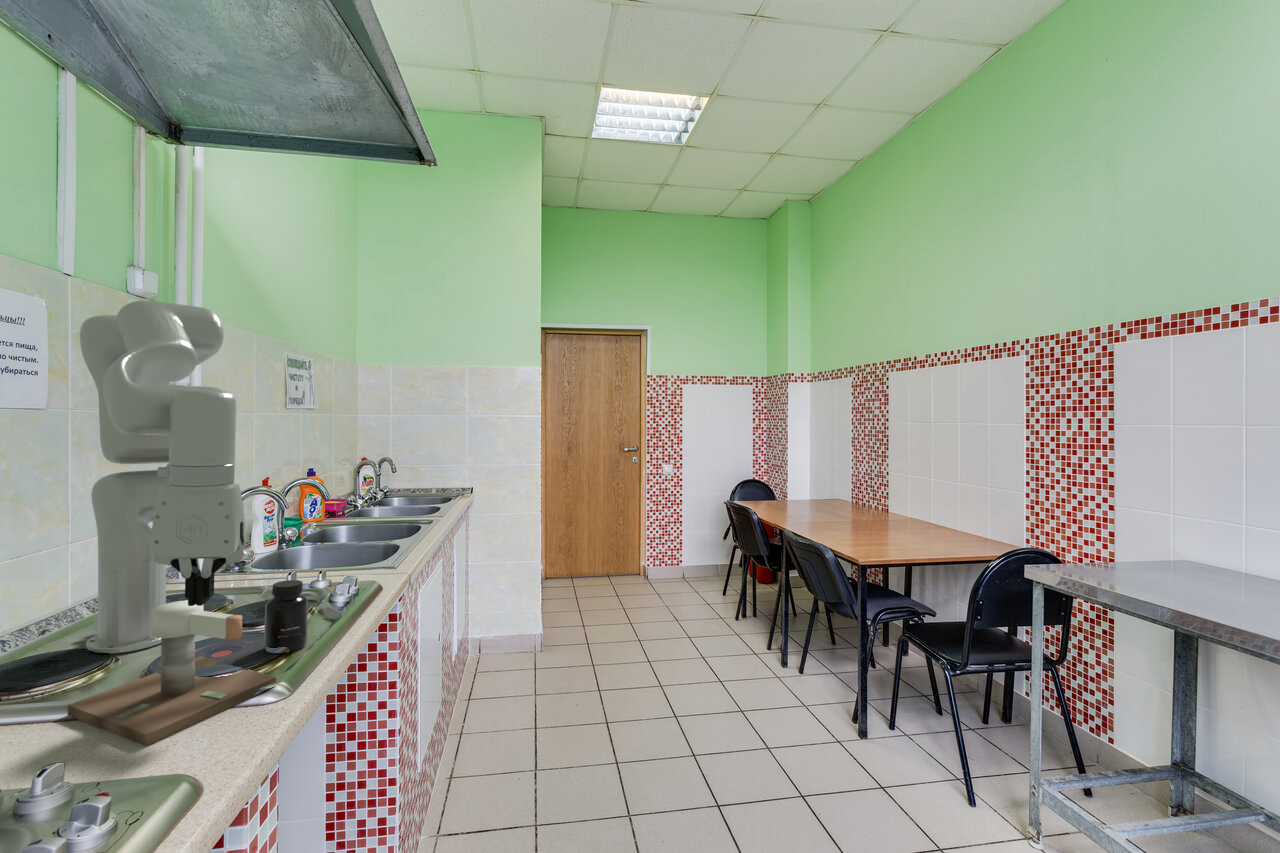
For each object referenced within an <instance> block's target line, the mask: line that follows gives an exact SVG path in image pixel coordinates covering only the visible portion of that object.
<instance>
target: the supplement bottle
mask: <svg viewBox="0 0 1280 853" xmlns="http://www.w3.org/2000/svg"><path fill="white" fill-rule="evenodd" d="M303 585H304V584H303V581H302V580H299V579H298V580H297V579H287V580H281V581H277V582H275V583H273V584H272V589H271V590H272V591H271V596H272V597H271V598H270V599H269V600H268V601H267V602H266V604H265V607H264V609H265V610H264V630H263V631H264V632H263V634H264V635H263V637H264V639H263V647H264V646H265V647H269V648H278V647H287V648H288V649H289V651H290V653H293V652H296V651H299V650H301V649H302V648H304V647H305V646H306V644H307V642H308V641H307V640H308V637H307V636H308V618H309V616H308V615H309V614H308V612H309V600H308V598H307V596H305V595H304V594H302V593H303V592H304V588H303Z"/></svg>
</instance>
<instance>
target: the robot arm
mask: <svg viewBox="0 0 1280 853" xmlns="http://www.w3.org/2000/svg"><path fill="white" fill-rule="evenodd" d="M224 337H225V332H224V326H223V323H222V321H221V319H220V318H219V316H218V315H217V314H216V313H215V312H214V311H212V310H211V309H209V308H206V307H202V306H195V305H188V304H179V303H173V302H164V301H157V300H156V301H155V300H137V301H133V302H128V303H127V304H125V305H123V306H122V307H121V308H120V309H119V310H118V313H117V314H116V315H115V314H113V315H112V314H110V315H107V314H106V315H105V314H104V315H94V316H91V317H89V318H87V319H85V320H84V321H83V322H82V324H81V326H80V330H79V344H80V350H81V355H82V357H83V360H84V362H85V365H86V368H87V369H88V371H89V373H90V376H91V377H92V380H93V381H94V384H95V387H96V390H97V394H98V396H97V397H98V415H99V416H98V417H99V418H98V419H99V438H100V439H99V440H100V447H101V452H102V454H103V457H104V458H105V460H107V462H110V463H113V464H119V465H143V464H166V466H162V467H161V466H159V467H158V468H157V469H154V470H153V469H150V470H134V471H133V470H132V471H131V470H130V471H122V472H115V473H111V474H108V475H105V476H102V477H101V478H99V479H98V480H97V481H96V482H95V483H94V484H93V486H92V489H91V504H92V509H93V514H94V519H95V523H96V532H97V550H98V551H97V552H98V553H97V565H98V566H97V568H98V569H97V617H96V618H95V619H94V621H93V623H94V624H95V625H97V633H96V634H95V635H92V637H90V638H88V640H86V642H85V650H86V649H88V650H97V651H102V652H106V653H109V654H108V655H110V654H112V655H114V654H122V653H128V652H129V653H130V652H136V651H140V650H143V649H148V648H151V647H153V646H157V645H160V644H161V638H156V637H154V636H153V609H154V608H156V607H158V606H161V605H163V604H167V566H171V567H173V569H175V570H176V571H177V572H179V573H180V576H181V577H182V578H183V579H184V598H185V599H187V600H188V606H194V605H195V604H196V605H197V606H202V605H203V604H206V603H207V602H208V601H209V600H210V599H211V598H212V597H213V596H214V593H215V573H216V572H218V570H220V569H221V568H223V566H225V565H230V564H234V563H239V562H241V561H242V560H244V559H245V557H246V556H245V552H244V545H245V542H246V541H245V540H246V519H245V510H244V502H243V501H244V500H243V495H242V492H241V487H240V484H238V483H235V471H236V470H235V469H236V468H235V466H236V464H235V463H236V431H237V430H236V427H237V425H236V422H237V400H236V397H235V395H234V394H232V393H231V392H229V391H225V390H222V389H220V388H218V387H211V386H197V385H182V384H180V385H179V384H174V383H177V382H180V381H182V380H184V379H186V378H188V377H189V376H190V375H191V374H192V373H193V372H194V370H195V369H196V367H197V366H198V365H201V364H202V363H204V362H205V361H207V360H209V359H211V358H212V357H213V356H215V355H216V354H217V353H218V352H219V351H220V349H221V347H222V346H223V342H224ZM150 523H152V527H151V526H149V524H150ZM200 559H202V560H203V561H202V566H201V568H200V563H199V562H200V561H199V560H200ZM88 650H87V651H88Z"/></svg>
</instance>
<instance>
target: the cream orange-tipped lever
mask: <svg viewBox="0 0 1280 853" xmlns="http://www.w3.org/2000/svg"><path fill="white" fill-rule="evenodd" d="M204 604H205V603H204ZM204 604H203V605H202V606H197V605H196V604H195V605H194V606H188V599H187V600H178V601H172V602H168V603H167V602H166V604H163V605H161V606H158V607H156V608H154V609H153V636H154V637H156V638H175V637H181V636H186V635H189V634H193V635H195V636H201V637H209V638H216V639H223V640H226V641H235V640H238V639H239V640H240V639H241V638H242V637H243V615H241V614H229V613H222V612H215V611H206V610H204Z"/></svg>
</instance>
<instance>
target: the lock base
mask: <svg viewBox="0 0 1280 853" xmlns="http://www.w3.org/2000/svg"><path fill="white" fill-rule="evenodd" d="M160 644H161V645H160V647H161V650H160V652H161V654H160V671H157V672H154V673H152V674H148V675H146V676H144V677H141V678H139V679H138V678H137V679H135V680H133V681H130V682H127V683H124V684H122V685H119V686H116V687H114V688H110V689H108V690H105V691H102V692H100V693H99V692H98V693H97V694H94V695H92V696H88V697H86V698H83V699H80V700H77V701H75V702H72V703H70V704H67V716H68V717H71V718H74V719H76V720H78V721H81V722H84V723H85V724H86V723H87V724H88V725H92V726H94V727H97V728H99V729H102V730H105V731H107V732H109V733H113V734H116V735H118V736H120V737H123V738H125V739H128V740H130V741H133V742H136V743H138V744H141V745H143V746H147V747H148V746H149V745H152V744H154V743H156V742H158V741H160V740H164V739H165V738H167V737H169V736H172V735H173V734H176V733H179V732H180V731H183V730H184V729H187V728H189V727H190V726H193V725H195V724H197V723H200V722H203V721H204V720H206V719H208V718H210V717H213V716H214V715H216V714H219V713H222V712H223V711H225V710H227V709H230V708H232V707H234V706H236V705H238V704H240V703H243V702H245V701H247V700H249V699H251V698H253V696H254V695H255V694H256V692H257V691H258V690H259V689H260V688H262V687H265V686H267V685H270V684H273V683H276V684H277V678H276V676H273V675H270V674H267V673H263V672H258V671H255V670H252V669H248V668H247V669H248V670H245V671H242V672H240V673H237V674H234V675H228V676H220V677H198V676H195V671H196V670H197V669H198V668H200V667H201V666H206V667H207V666H212V665H215V664H217V663H216V662H217V661H218V660H217V659H213V658H210V657H206V656H203V655H201V656H198V657H196V635H193V634H189V635H186V636H181V637H175V638H161V643H160ZM158 672H161V674H158ZM254 697H255V696H254Z"/></svg>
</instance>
